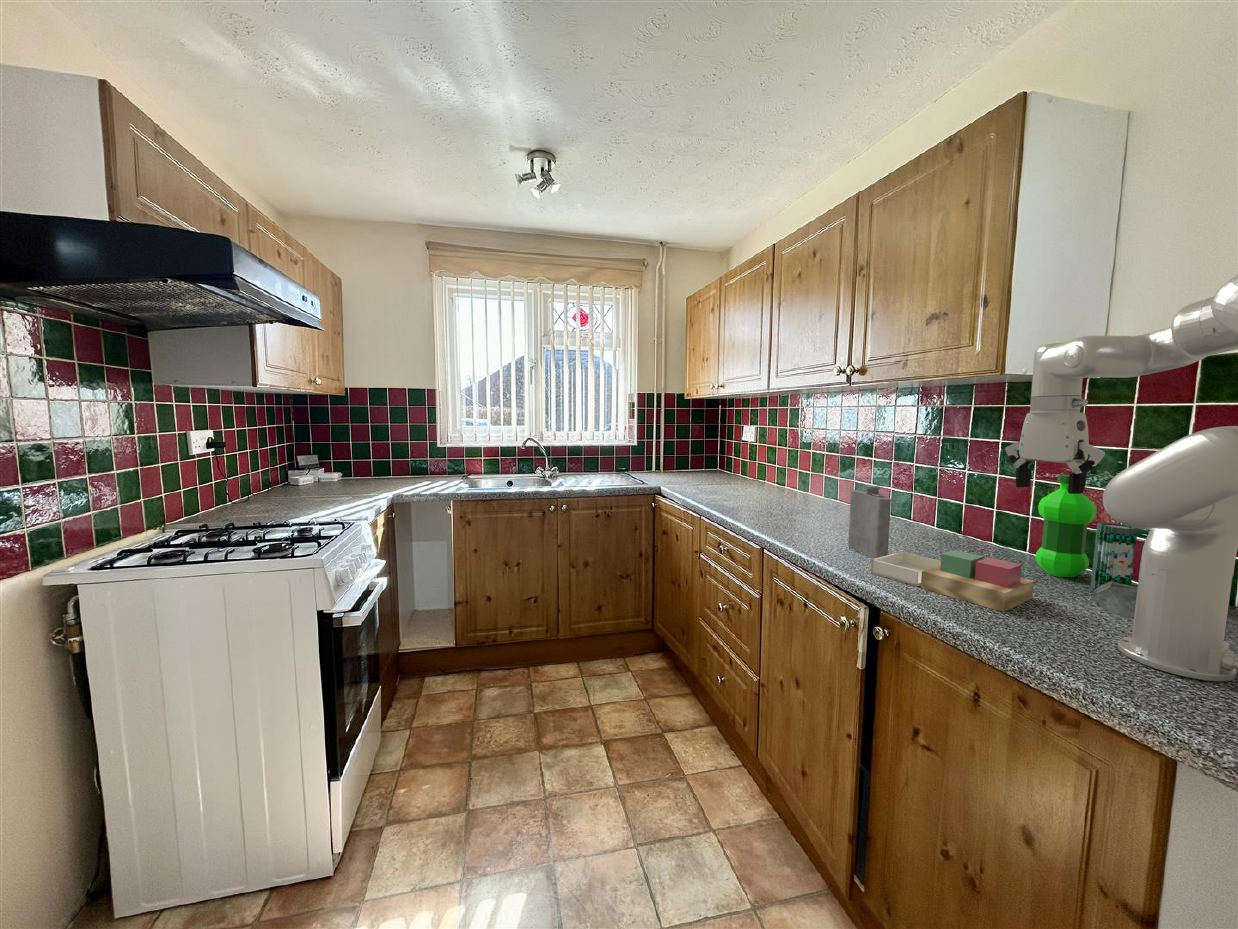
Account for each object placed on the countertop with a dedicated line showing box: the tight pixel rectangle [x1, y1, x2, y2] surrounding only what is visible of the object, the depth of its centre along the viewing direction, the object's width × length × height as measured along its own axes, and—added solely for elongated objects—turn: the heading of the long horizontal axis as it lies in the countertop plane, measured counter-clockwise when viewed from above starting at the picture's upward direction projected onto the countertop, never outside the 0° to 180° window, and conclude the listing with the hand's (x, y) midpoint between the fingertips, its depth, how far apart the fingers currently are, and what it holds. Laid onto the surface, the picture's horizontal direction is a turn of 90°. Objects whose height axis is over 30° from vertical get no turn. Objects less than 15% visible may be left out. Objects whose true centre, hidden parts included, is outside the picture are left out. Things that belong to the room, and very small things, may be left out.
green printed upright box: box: [1090, 522, 1139, 590], centre depth 110 cm, size 6×6×15 cm
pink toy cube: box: [975, 557, 1022, 588], centre depth 104 cm, size 6×6×4 cm
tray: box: [870, 550, 941, 587], centre depth 120 cm, size 11×14×4 cm
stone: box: [1093, 581, 1138, 620], centre depth 98 cm, size 11×4×10 cm
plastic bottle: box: [1035, 474, 1098, 578], centre depth 120 cm, size 10×10×25 cm
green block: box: [940, 549, 985, 578], centre depth 110 cm, size 6×6×4 cm
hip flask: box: [847, 484, 892, 560], centre depth 137 cm, size 16×4×20 cm, turn 5°
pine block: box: [920, 565, 1035, 613], centre depth 108 cm, size 16×14×4 cm
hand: (1047, 490), depth 99 cm, fingers open, 9 cm apart
